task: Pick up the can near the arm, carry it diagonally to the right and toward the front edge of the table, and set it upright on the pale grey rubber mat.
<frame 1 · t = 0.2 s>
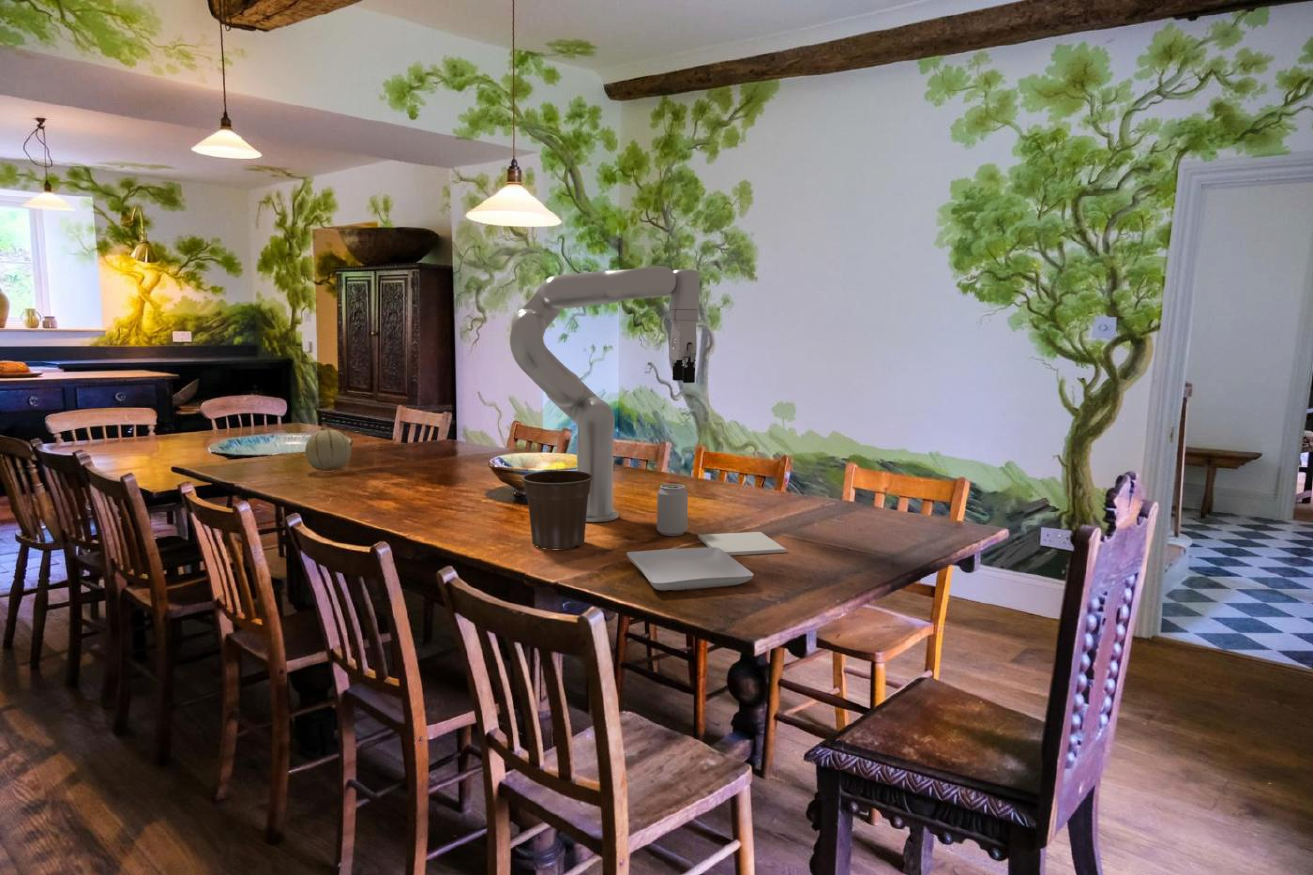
hand: (683, 381, 217), 36 cm above the table, tool pointing down, fingers open, 9 cm apart
salad plate: (687, 579, 166), on the table
plant pot: (557, 544, 189), on the table
mat: (740, 545, 191), on the table
can: (671, 533, 201), on the table
cantaloupe: (329, 472, 278), on the table
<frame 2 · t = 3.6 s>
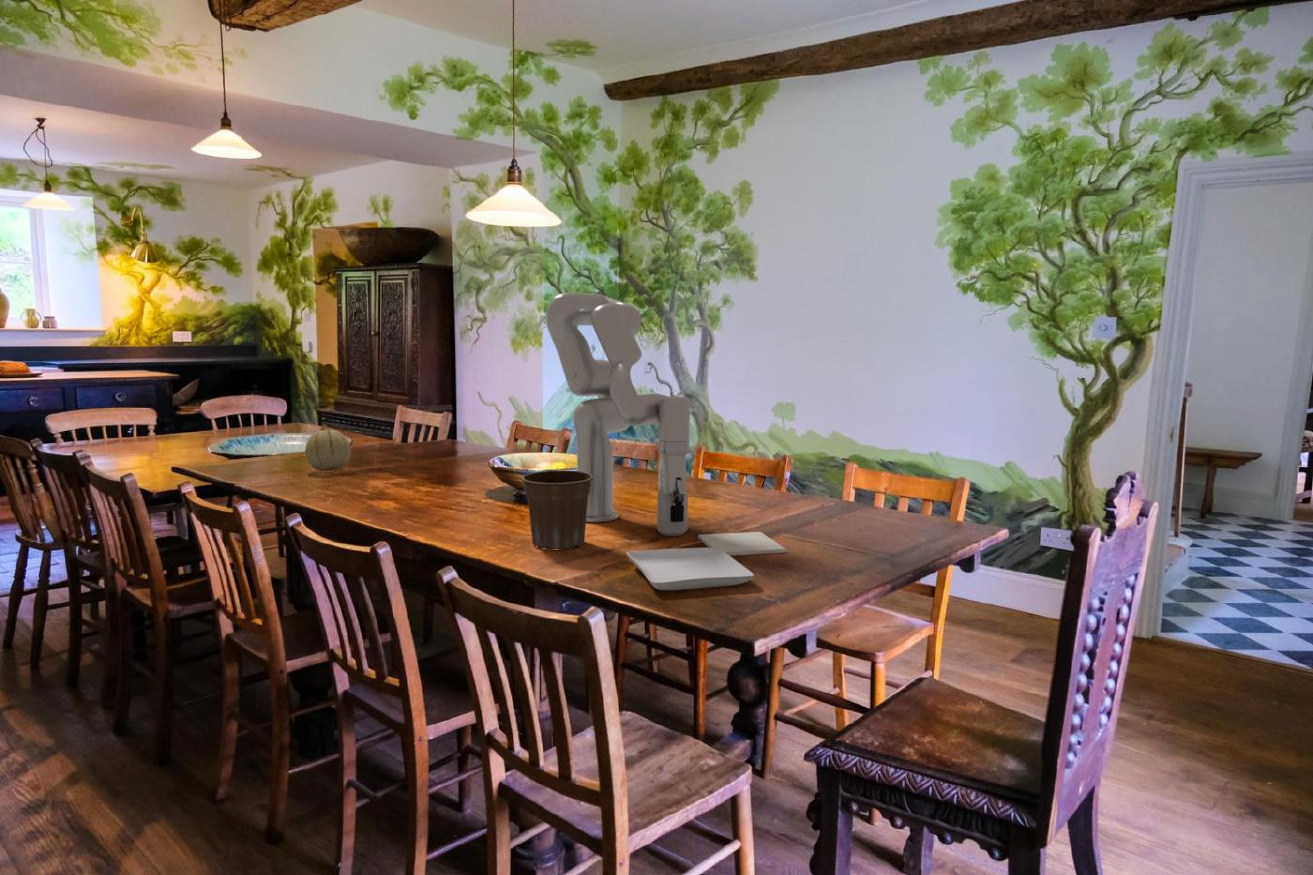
hand: (672, 517, 201), 4 cm above the table, tool pointing down, fingers closed on can, 7 cm apart
can: (672, 533, 201), on the table, touching gripper
everything else where it was.
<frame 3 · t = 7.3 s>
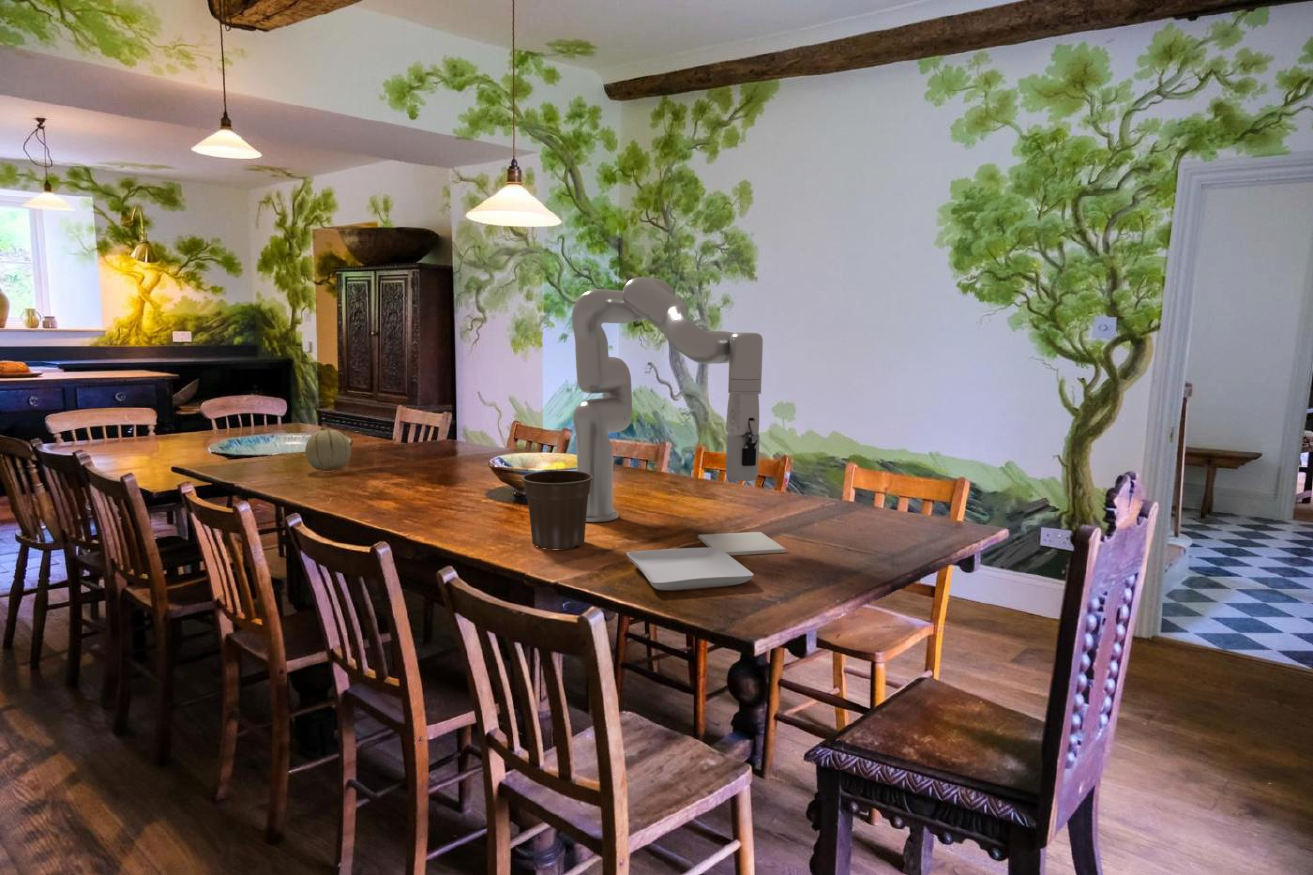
hand: (742, 462, 188), 20 cm above the table, tool pointing down, fingers closed on can, 7 cm apart
can: (741, 479, 189), point 16 cm above the table, touching gripper
everything else where it was.
when the fingers open (5 cm above the table, at t = 11.0 s): can stays where it is, resting on mat.
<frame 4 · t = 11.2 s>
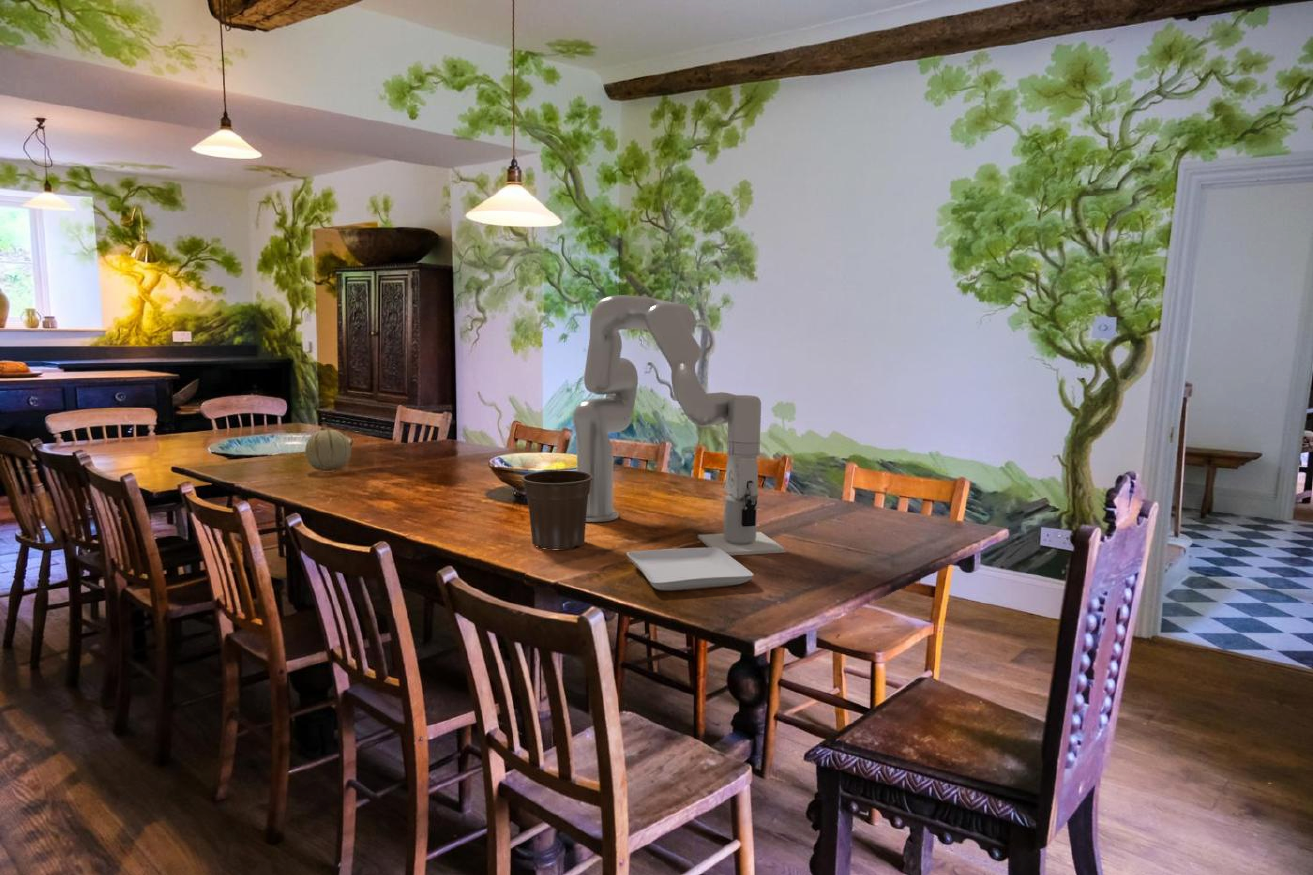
hand: (741, 521, 190), 6 cm above the table, tool pointing down, fingers open, 9 cm apart
can: (739, 542, 191), point 1 cm above the table, touching mat
everything else where it was.
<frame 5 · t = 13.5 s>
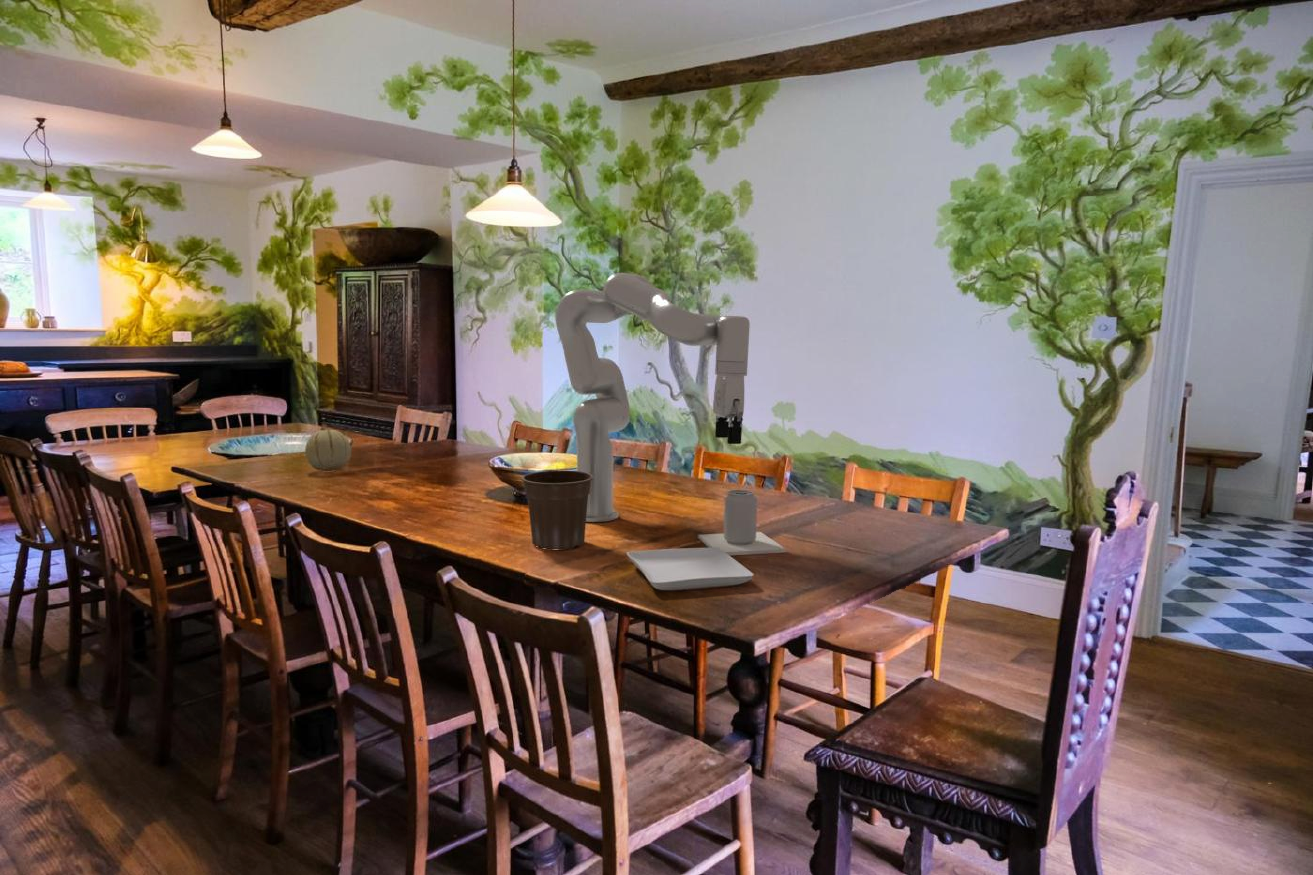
hand: (727, 440, 194), 24 cm above the table, tool pointing down, fingers open, 9 cm apart
nothing on the table moved.
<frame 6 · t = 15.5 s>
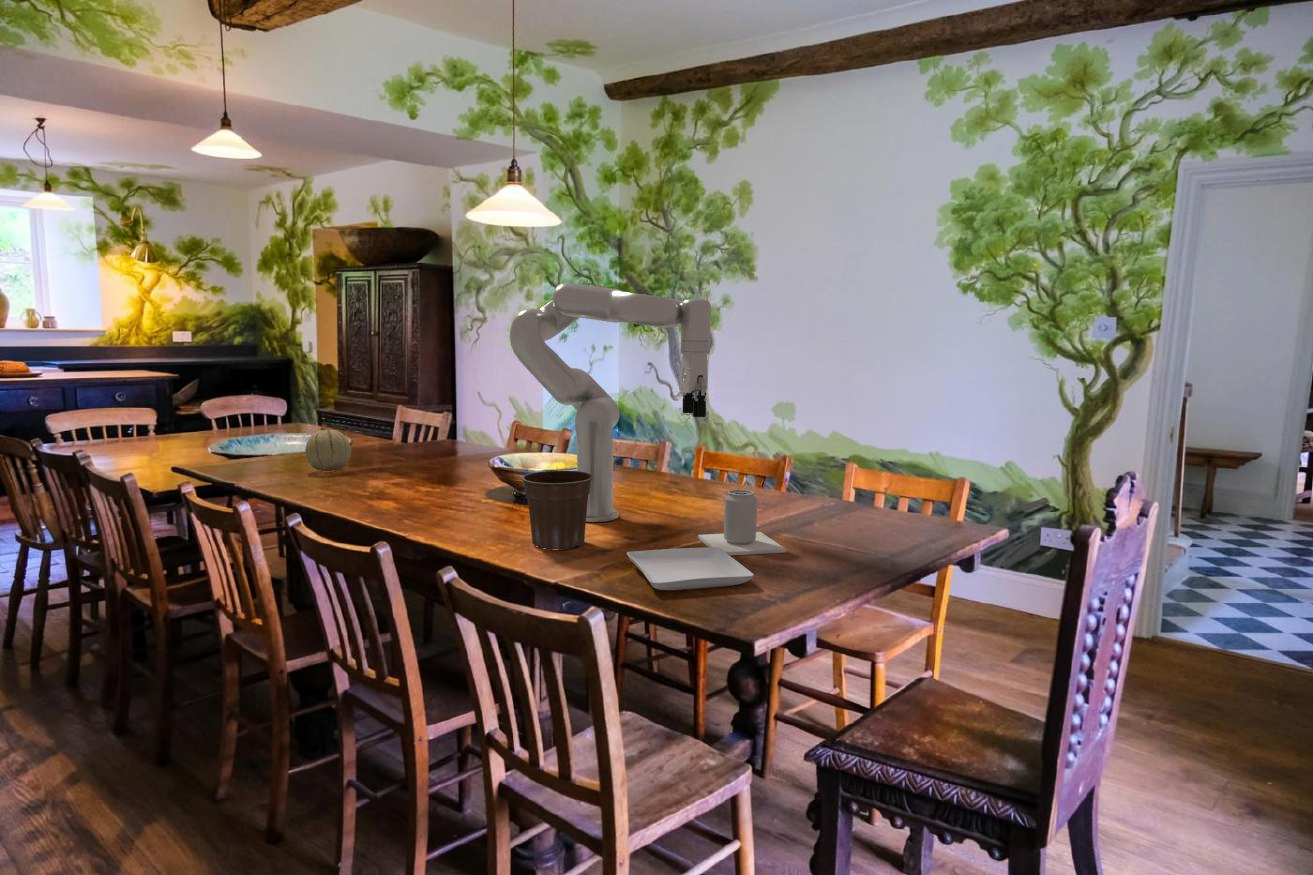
hand: (693, 414, 209), 28 cm above the table, tool pointing down, fingers open, 9 cm apart
nothing on the table moved.
at the end: can inside the target area on the mat (0.3 cm from its centre), point 0.6 cm above the mat's base; can tilted 0°; the gripper is holding nothing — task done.
